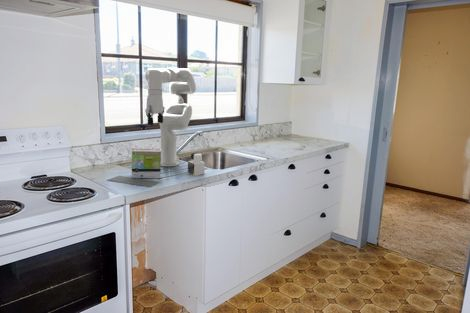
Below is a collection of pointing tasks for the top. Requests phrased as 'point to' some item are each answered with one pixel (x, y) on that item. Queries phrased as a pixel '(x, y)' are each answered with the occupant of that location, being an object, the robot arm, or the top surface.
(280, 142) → the top surface
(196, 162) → the medicine bottle
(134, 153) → the tea box
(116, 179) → the rubber mat
